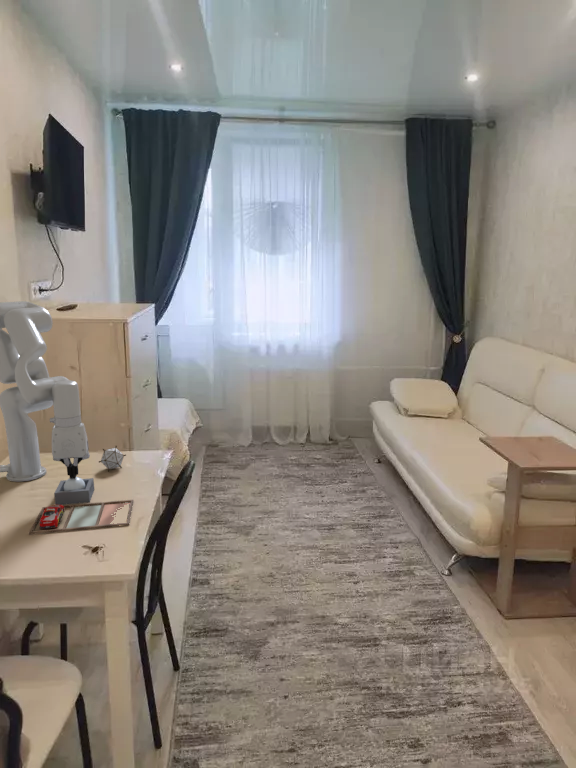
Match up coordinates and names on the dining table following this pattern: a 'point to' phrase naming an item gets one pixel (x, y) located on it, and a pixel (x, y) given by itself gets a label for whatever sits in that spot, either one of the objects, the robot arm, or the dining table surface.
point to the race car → (51, 516)
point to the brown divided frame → (88, 516)
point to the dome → (74, 484)
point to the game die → (112, 458)
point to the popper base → (74, 493)
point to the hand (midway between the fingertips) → (73, 476)
